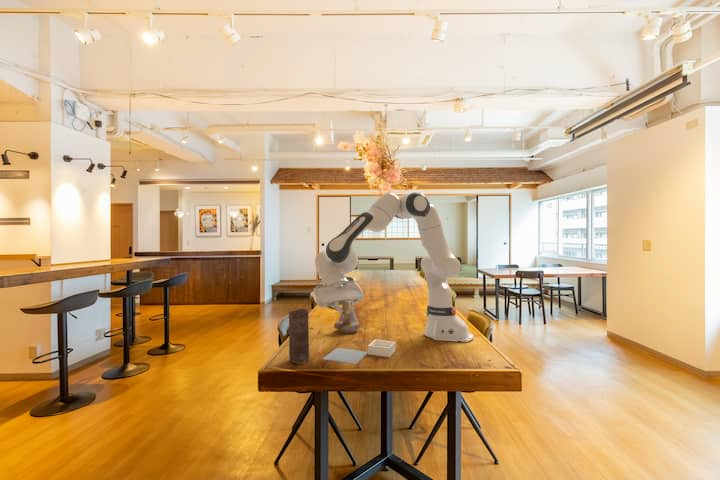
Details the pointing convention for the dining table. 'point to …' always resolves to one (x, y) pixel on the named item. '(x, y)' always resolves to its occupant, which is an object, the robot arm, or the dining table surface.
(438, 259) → the robot arm
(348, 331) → the coffee pot
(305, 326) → the candle
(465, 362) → the dining table surface
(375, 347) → the dish
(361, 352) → the mat
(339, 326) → the lid
